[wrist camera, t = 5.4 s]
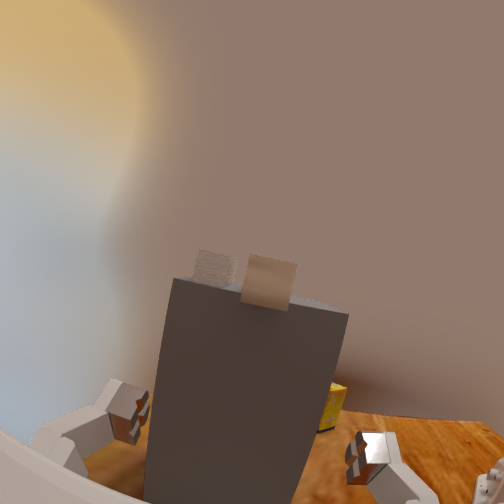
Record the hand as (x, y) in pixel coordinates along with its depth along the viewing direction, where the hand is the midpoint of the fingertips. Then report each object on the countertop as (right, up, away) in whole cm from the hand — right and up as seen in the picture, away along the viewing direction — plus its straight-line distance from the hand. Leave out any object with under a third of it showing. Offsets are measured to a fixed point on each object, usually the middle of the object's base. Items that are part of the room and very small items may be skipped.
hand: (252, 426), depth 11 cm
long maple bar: (+1, +2, +19) cm, 19 cm away
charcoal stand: (-5, -27, +23) cm, 36 cm away
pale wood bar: (-4, +3, +24) cm, 25 cm away
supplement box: (+15, -34, +54) cm, 65 cm away
